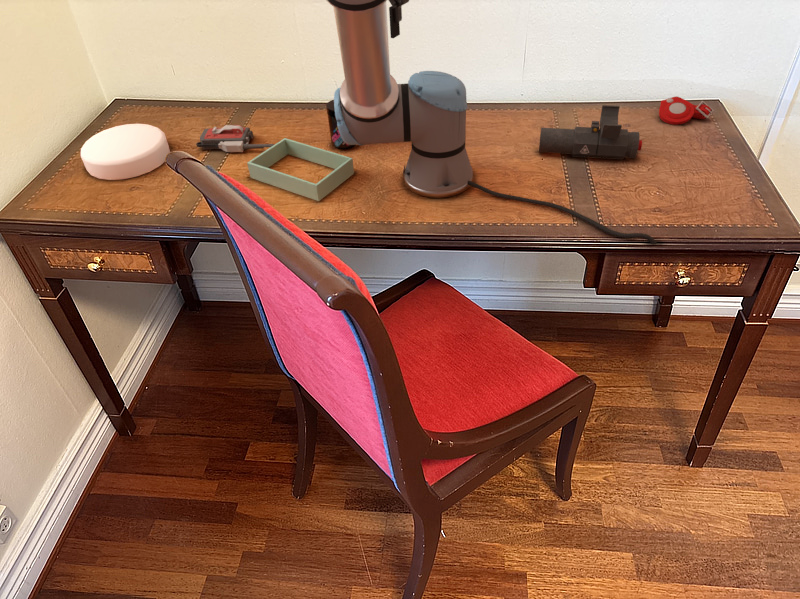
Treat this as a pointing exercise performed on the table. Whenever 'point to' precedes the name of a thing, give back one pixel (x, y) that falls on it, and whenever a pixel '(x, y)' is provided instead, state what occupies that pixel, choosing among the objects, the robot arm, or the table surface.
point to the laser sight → (593, 139)
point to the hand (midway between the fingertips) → (370, 32)
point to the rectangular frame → (296, 185)
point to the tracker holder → (682, 111)
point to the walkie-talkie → (228, 139)
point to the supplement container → (335, 129)
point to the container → (125, 151)
